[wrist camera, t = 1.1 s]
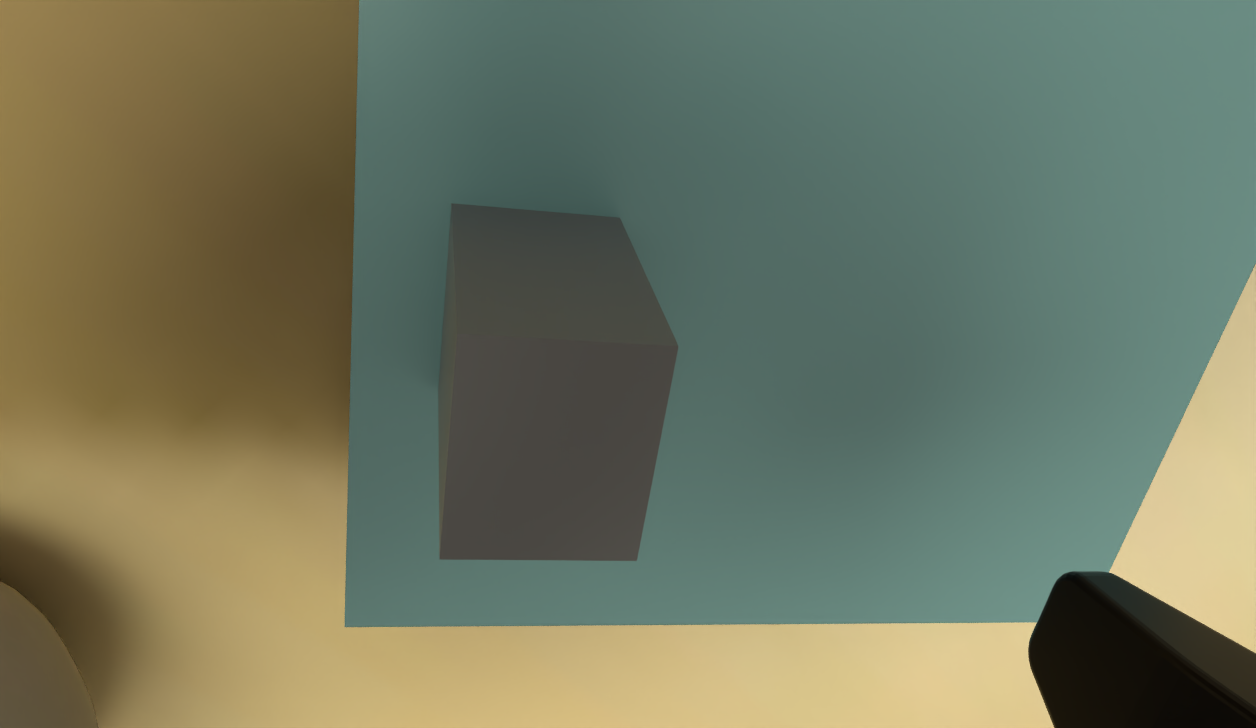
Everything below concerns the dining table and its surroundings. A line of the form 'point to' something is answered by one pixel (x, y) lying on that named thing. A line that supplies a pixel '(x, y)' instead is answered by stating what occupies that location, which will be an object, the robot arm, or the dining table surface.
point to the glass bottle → (37, 671)
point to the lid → (779, 300)
